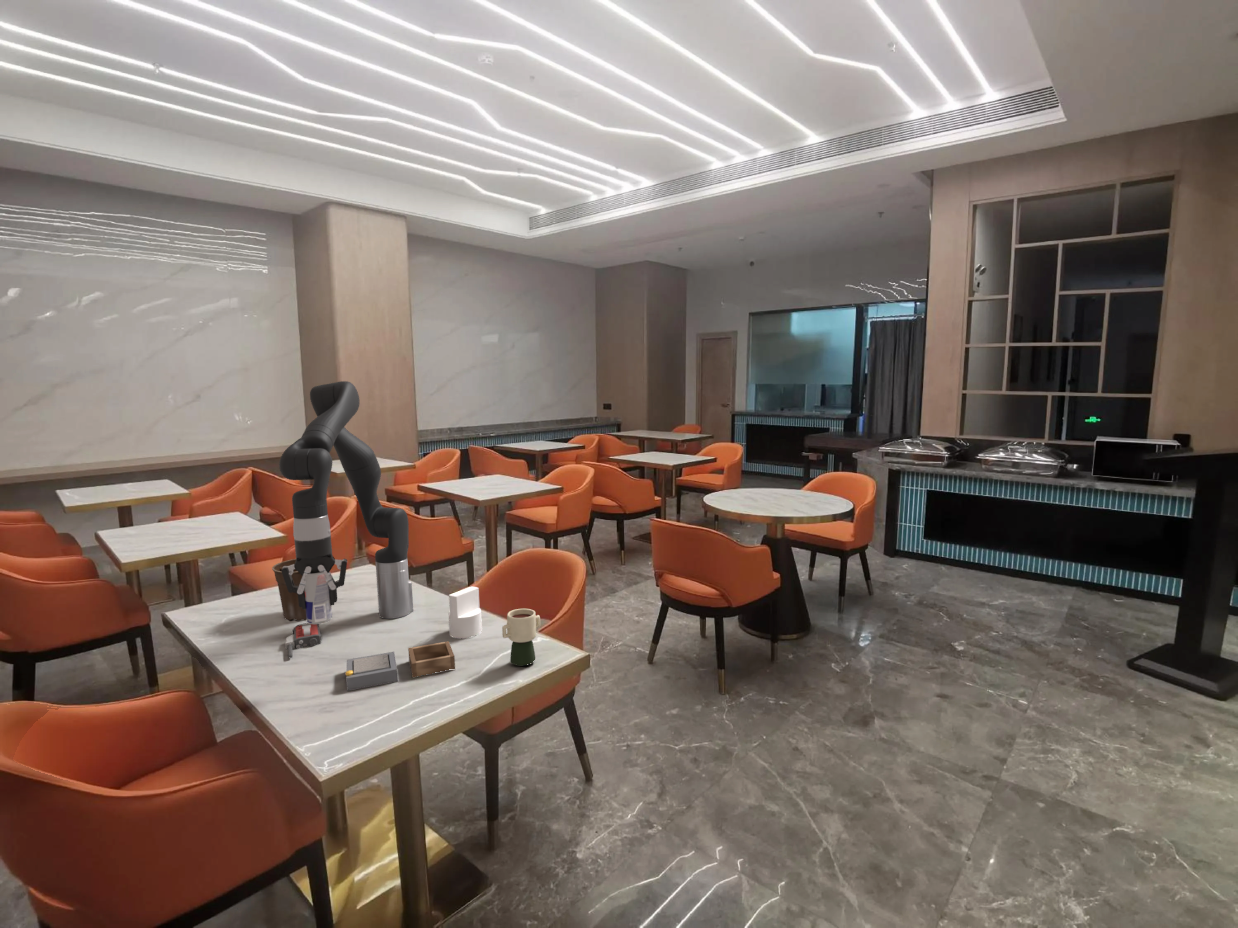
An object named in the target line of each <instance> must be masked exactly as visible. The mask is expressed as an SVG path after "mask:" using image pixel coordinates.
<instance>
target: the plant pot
mask: <svg viewBox="0 0 1238 928" xmlns="http://www.w3.org/2000/svg"><path fill="white" fill-rule="evenodd" d="M295 562H296V558H294V559H293V558H292V559H289V560H285V561H284V560H283V561H281V562H278V563H275V564H274V565H273V566H272V567H271V569H272V571H273V572H274V577H275V582H276V583H277V587H278V592H279V596H280V597H279V598H280V602H281V608H282V615H283V618H284V619H285V620H287V621H293V620H296V621H297V622H299V621H307V617H306V609H302V607H299V602H298V594H297V593H293V592H292V593H289V592H288V589H287V586H286V583H285V580H284V577H283V575H282V568H283V566H290V565H293V564H295ZM291 576H292V579H293V582H294V585H295V586H299V584H300V582H301V579H302V575H301V574H300V573H299V572H298V571H297V570H296V569H294V570H293V574H292V575H291Z"/></svg>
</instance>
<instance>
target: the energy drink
mask: <svg viewBox="0 0 1238 928" xmlns="http://www.w3.org/2000/svg"><path fill="white" fill-rule="evenodd" d="M328 574H329V573H328ZM304 580H305V581H306V585H305V588H304V593H305V604H306V617H307V620H306V623H309V624H319V625H322V624H325V623H327V622H330V621H331V620H332V618H333V610H332V605H331V600H330V587H329V585H328V582H326V577H325V573H324V572H319V573H311V574H307V575H306V576H305V579H304Z"/></svg>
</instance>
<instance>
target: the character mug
mask: <svg viewBox="0 0 1238 928" xmlns="http://www.w3.org/2000/svg"><path fill="white" fill-rule="evenodd" d="M540 627H541V617H540V615H539V614H537V615H536V611H535V610H533V609H530V608H518V609H517V608H516V609H513V610H510V611H508V612H507V613H506V624H504V625H502V627H501V632H502V633H501V634H502V638H503V639H507V638H508V639H509V640H510V641H511V642H512V643H511V648H510V659H509V660H510V662H509V663H511V664H512V665H515V666H521V667H522V666H523V665H527V664H530V663H532V662H533V661H534V660H535V661H536V652H535V647H534V642H533V640H534V639H535V638H536V637H537V629H538V628H540ZM532 664H533V663H532ZM530 665H531V664H530ZM523 667H524V666H523Z"/></svg>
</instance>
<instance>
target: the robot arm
mask: <svg viewBox="0 0 1238 928" xmlns="http://www.w3.org/2000/svg"><path fill="white" fill-rule="evenodd" d="M309 400H310V402H311V406H312V409H313V411H314V413H315V415H316V416H317V417H316V418H314V419H313V420H311V422H310V423H308V425H306V428H305V429H304V431H303V433H302V435H301V437H300V438H298V439H297V440H295V441H294V442H293V443H291V445H289V446H288V447H287V448H286V449H285V450H284V451H283V453H281V456H280V459H279V463H278V465H279V466H278V467H279V471H280V473H281V475H282V476H283V477H285V478H286V479H287V480H289V481H290V480H291V481H308V480H309V481H310V480H314V481H313V485H312V486H311V487H310V488H305V489H302V490H297V491H296V492H294V493H293V494H292V496H291V502H292V503H291V504H292V513H293V533H292V536H293V538H294V541H293V542H294V550H295V559H296V562H295V564H293V565H290V566H283V568H282V575H283V577H284V580H285V583H286V586H287V589H288V592H289V593H292V592H293V593H297V594H298V602H299V607H302V609H306V604H305V593H304V588H305V585H306V581H305V580H304V579H305V576H306V575H307V574H311V573H319V572H324V573H325V577H326V582H328V585H329V587H330V600H331V606H335V603H337V602H338V590H337V589H338V588H339V587H340V588H341V587H343V586H344V585H345V579H346V573H347V567H348V559H347V558H342V559H336V558H335V557H334V555H333V548H332V547H333V546H332V535H331V532H332V531H331V523H330V519H329V512H328V501H327V496H328V495H327V494H328V489H329V482H330V476H331V473H332V469H333V458H332V456H331V455H332V454H330V453H331V451H332V449H333V448H334V450H335V452H336V455H337V457H338V459H339V462H340V464H341V467H342V469H343V472H344V474H345V475H346V477H347V479H348V481H349V484H350V486H351V488H352V489H353V493H354V495H355V497H356V500H357V503H358V505H359V508H360V512H361V514H362V517H363V520H364V521H363V522H364V524H365V527H366V528H367V531H368V532H369V534H370V535H371V536H372V537H375V538H381V539H388V544H387V546H385V547H382V548H380V549H378V550H377V551H376V552H375V554H374V558H375V559H374V561H375V572H376V573H375V574H376V576H375V577H376V589H377V604H378V616H379V617H380V618H381V619H388V620H389V619H391V620H392V619H399V618H402V617H405V616H407V615H409V614H410V613H411V612H414V599H413V585H412V584H413V583H412V581H411V580H409V578H410V577H409V565H408V564H409V563H408V552H409V540H410V539H409V538H410V537H409V535H410V534H409V531H410V530H409V527H410V526H409V525H410V524H409V517H408V514H407V512H406V510H405V509H403V508H400V507H384V506H383V505H382V504H381V502H380V499H379V497H378V496H379V495H378V494H377V493H378V487H379V484H380V481H381V476H382V470H381V467H380V466H381V465H380V463H379V460H378V459H377V456H376V454H375V452H374V450H373V448H372V447H371V446H369V445H368V444H367V443H366V442H365V441H363V440H362V439H360V438H359V437H357V436H356V435H354V434H353V433H351V432H350V431H349V430H348V429H347V428H346V425H347V424H348V423H349V422H350V421H351V419H352V418H353V417H355V415H356V413H357V412H358V410H359V407H360V395H359V391H358V390H357V388H356V386H355V385H354V384H353V383H352V382H351V381H348V380H347V381H346V380H343V381H335V382H330V383H323V384H319V385H315V386H314V387H313V386H312V388H311V389H310V391H309ZM335 565H336V568H337V569H338V570H340V572H339V578H338V580H335V579H334V577H333V574H332V573H331V570H332V569H333V567H334V566H335ZM294 569H296V570H297V571H298V572H299V573H300V574H301V575H302V579H301V582H300V584H299V586H295V585H294V582H293V579H292V576H291V575H292V574H293V570H294ZM328 573H329V574H328Z"/></svg>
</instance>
